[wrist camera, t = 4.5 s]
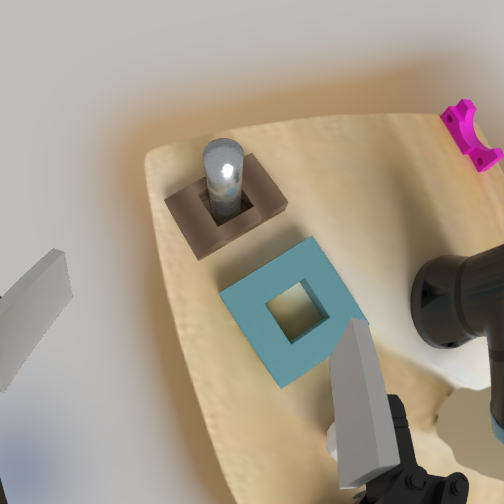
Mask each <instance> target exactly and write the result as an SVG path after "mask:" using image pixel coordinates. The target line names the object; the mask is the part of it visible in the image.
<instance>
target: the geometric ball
mask: <svg viewBox="0 0 504 504" xmlns="http://www.w3.org/2000/svg"><path fill="white" fill-rule="evenodd" d="M326 448H327V450H328V452H329V454H330V455H331V456H332V457H333V458H334V459H335V460H336V461H338V458H337V443H336V429H335V421H334V422H333V423H332V425H331V426H330V428H329V429H328V431H327V438H326Z"/></svg>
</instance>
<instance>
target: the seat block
mask: <svg viewBox="0 0 504 504" xmlns="http://www.w3.org/2000/svg"><path fill="white" fill-rule="evenodd" d="M299 281H300V283H301V284H302V286H303V287H304V289H305V290H306V292H307V293H308V295H309V297H310V298H311V300H312V301H313V303H314V304H315V306H316V307H317V309H318V310H319V312H320V314H321V315H322V317H323V319H322V320H320V321H319V322H317V323H316V324H315V325H313V326H312V327H310V328H309V329H307V330H306V331H305V332H303V333H302V334H300V335H299V336H297V337H296V338H294V339H293V340H291V341H290V342H289V341H288V339H287V338H286V336H285V335H284V333H283V331H282V330H281V328H280V327H279V325H278V324H277V322H276V321H275V319H274V318H273V316H272V315H271V313H270V311H269V310H268V308H267V307H266V305H265V304H266V303H267V302H269V301H270V300H272V299H273V298H275V297H276V296H278V295H280V294H281V293H283V292H284V291H286V290H287V289H289V288H290V287H292V286H293V285H295V284H296V283H298V282H299ZM219 295H220V297H221V298H222V300H223V302H224V303H225V305H226V306H227V308H228V310H229V311H230V313H231V314H232V316H233V318H234V319H235V321H236V322H237V324H238V325H239V327H240V328H241V330H242V332H243V333H244V335H245V336H246V338H247V339H248V341H249V342H250V344H251V345H252V347H253V348H254V350H255V352H256V353H257V355H258V356H259V358H260V359H261V361H262V362H263V364H264V365H265V367H266V368H267V369H268V371H269V372H270V374H271V375H272V377H273V378H274V380H275V381H276V383H277V384H278V385H279V387H280V388H281V389H282V388H283V387H285V386H286V385H288V384H289V383H291V382H292V381H294V380H295V379H297V378H298V377H300V376H301V375H303V374H304V373H306V372H307V371H309V370H310V369H311V368H313V367H314V366H316V365H317V364H319V363H320V362H321V361H323V360H324V359H326V358H327V357H328V356H330V355H331V353H332V352H333V350H334V348H335V347H336V345H337V343H338V341H339V339H340V338H341V336H342V334H343V332H344V330H345V329H346V327H347V325H348V323H349V321H350V319H351V318H356V319H362V320H367V319H366V318H365V316H364V314H363V313H362V311H361V309H360V308H359V306H358V305H357V303H356V302H355V300H354V298H353V297H352V295H351V294H350V292H349V290H348V289H347V287H346V286H345V284H344V283H343V281H342V280H341V278H340V277H339V275H338V273H337V272H336V270H335V269H334V267H333V266H332V264H331V263H330V261H329V260H328V258H327V257H326V255H325V254H324V252H323V251H322V249H321V248H320V246H319V245H318V244H317V242H316V241H315V239H314V238H313V236H311V237H309V238H307V239H306V240H304V241H303V242H301V243H299V244H298V245H296V246H295V247H293V248H291V249H290V250H288V251H287V252H285V253H283V254H282V255H280V256H279V257H277V258H275V259H274V260H272V261H271V262H269V263H267V264H266V265H264V266H263V267H261V268H259V269H258V270H256V271H254V272H253V273H251V274H250V275H248V276H246V277H245V278H243V279H241V280H240V281H238V282H237V283H235V284H233V285H232V286H230V287H228V288H227V289H225V290H224V291H222V292H220V293H219ZM367 322H368V321H367ZM368 325H370V324H369V322H368Z"/></svg>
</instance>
